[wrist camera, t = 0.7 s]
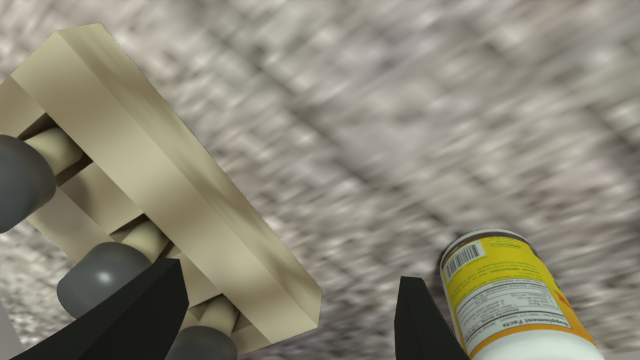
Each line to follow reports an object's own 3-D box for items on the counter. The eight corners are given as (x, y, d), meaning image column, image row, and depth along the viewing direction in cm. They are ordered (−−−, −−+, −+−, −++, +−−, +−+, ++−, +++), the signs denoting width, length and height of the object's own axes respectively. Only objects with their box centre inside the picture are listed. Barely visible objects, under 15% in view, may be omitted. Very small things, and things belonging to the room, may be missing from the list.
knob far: (263, 315, 24) (239, 395, 19) (221, 332, 25) (189, 411, 21) (227, 278, 23) (192, 353, 18) (185, 298, 24) (142, 373, 19)
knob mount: (322, 290, 25) (317, 327, 23) (214, 335, 29) (199, 371, 26) (99, 23, 18) (55, 30, 16) (-9, 123, 22) (-60, 143, 19)
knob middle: (195, 244, 22) (150, 315, 17) (153, 267, 23) (100, 339, 18) (151, 198, 20) (89, 262, 16) (109, 224, 22) (41, 291, 17)
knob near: (111, 156, 19) (34, 211, 15) (69, 186, 21) (-14, 246, 16) (56, 98, 18) (-47, 139, 14) (15, 134, 19) (-92, 183, 15)
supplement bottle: (522, 296, 24) (618, 489, 15) (433, 292, 24) (472, 474, 15) (545, 224, 21) (678, 406, 12) (443, 221, 22) (499, 392, 13)
